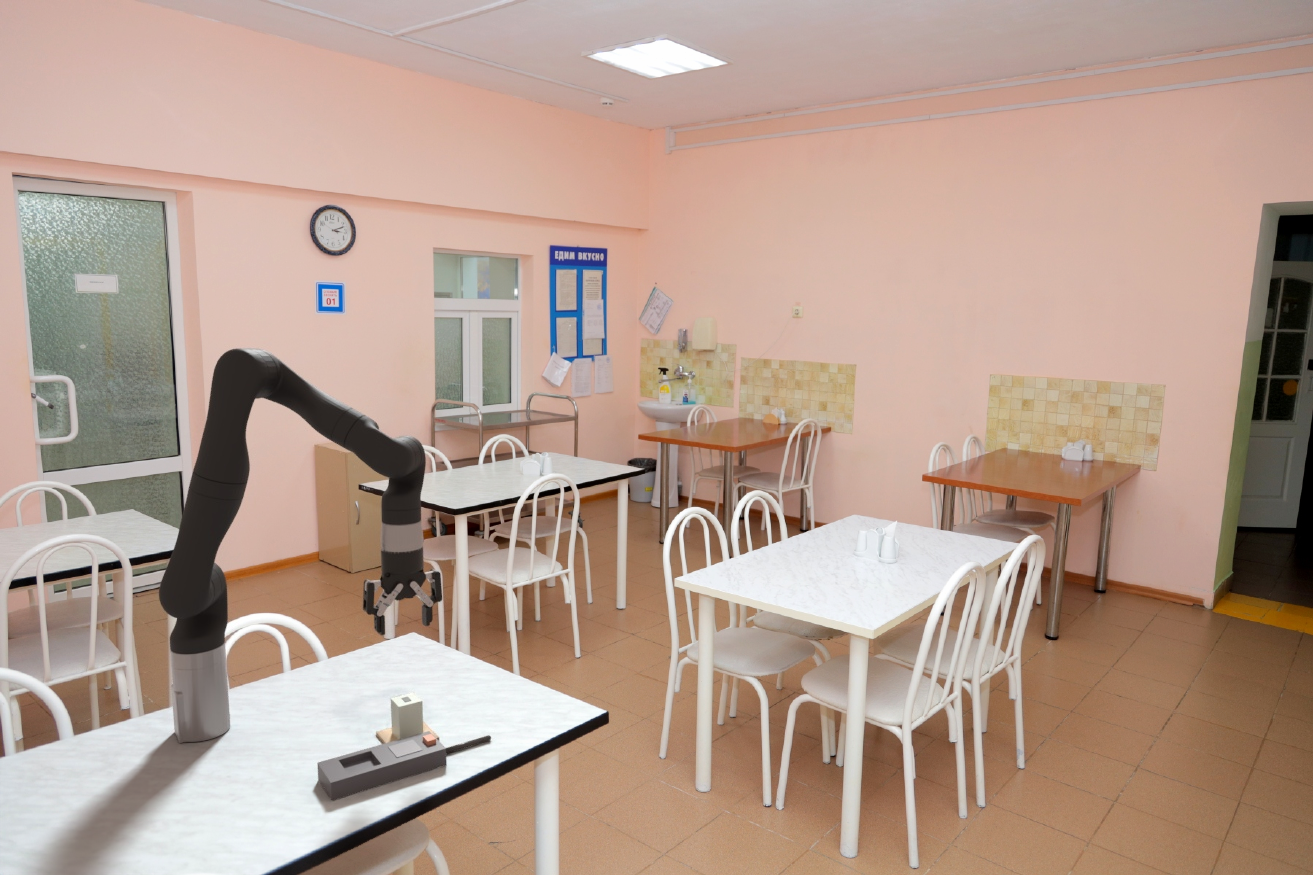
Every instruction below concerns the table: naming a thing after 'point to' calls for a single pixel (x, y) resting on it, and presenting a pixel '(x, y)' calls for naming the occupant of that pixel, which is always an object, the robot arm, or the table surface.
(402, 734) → the block
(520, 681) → the table surface
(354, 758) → the power strip
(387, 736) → the cork mat
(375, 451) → the robot arm
